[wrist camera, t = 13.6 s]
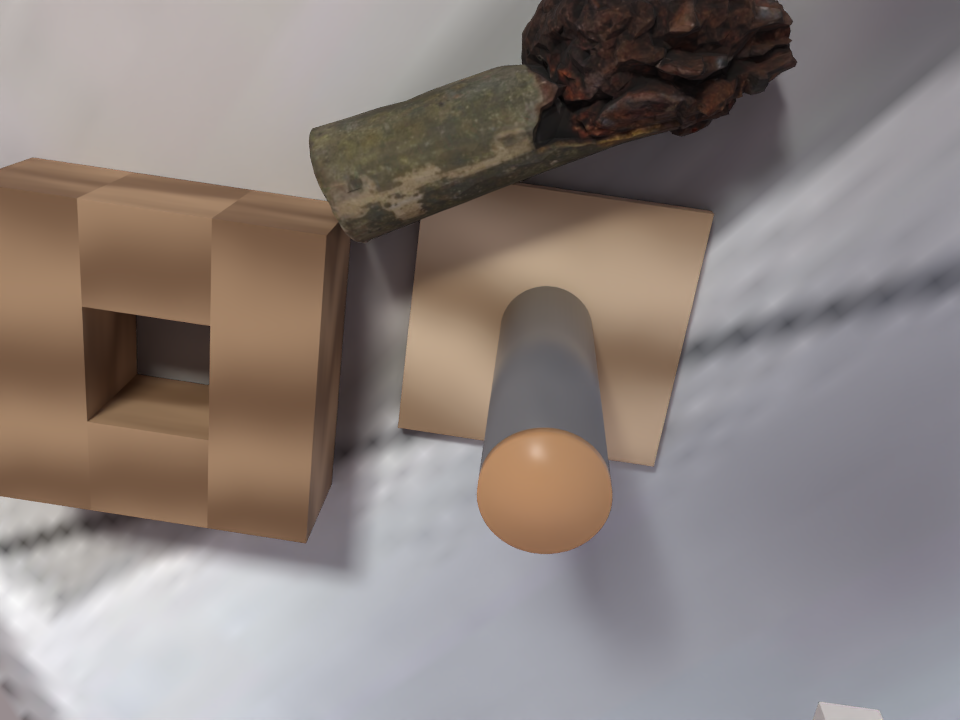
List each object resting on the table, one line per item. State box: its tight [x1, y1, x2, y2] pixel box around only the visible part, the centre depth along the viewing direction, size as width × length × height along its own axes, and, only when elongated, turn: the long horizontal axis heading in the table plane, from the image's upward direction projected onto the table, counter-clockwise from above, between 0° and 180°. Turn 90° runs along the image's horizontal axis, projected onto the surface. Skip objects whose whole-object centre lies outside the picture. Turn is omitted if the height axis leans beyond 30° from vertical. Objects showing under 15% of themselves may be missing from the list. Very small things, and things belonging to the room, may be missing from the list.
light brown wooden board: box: [398, 182, 714, 467], centre depth 40 cm, size 12×12×1 cm
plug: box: [477, 286, 612, 554], centre depth 33 cm, size 4×4×14 cm
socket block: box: [0, 158, 351, 543], centre depth 39 cm, size 14×14×5 cm
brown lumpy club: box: [309, 0, 797, 243], centre depth 33 cm, size 18×7×6 cm, turn 110°
